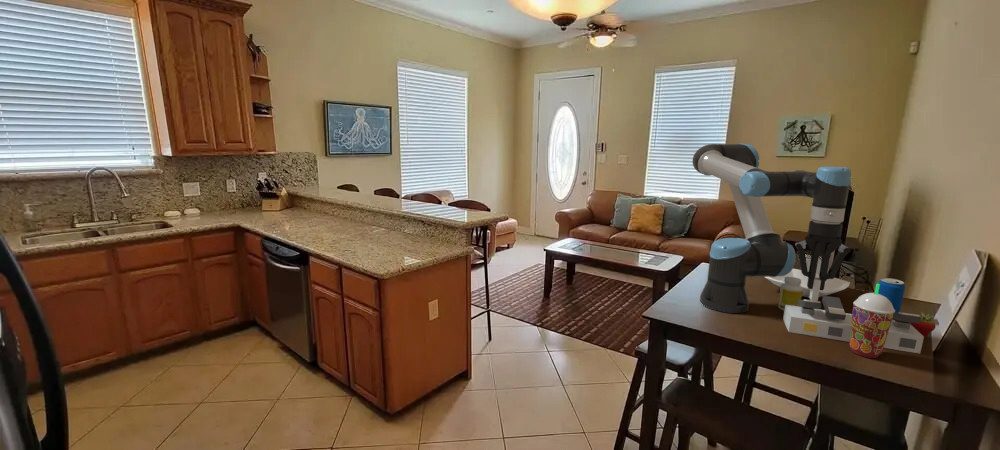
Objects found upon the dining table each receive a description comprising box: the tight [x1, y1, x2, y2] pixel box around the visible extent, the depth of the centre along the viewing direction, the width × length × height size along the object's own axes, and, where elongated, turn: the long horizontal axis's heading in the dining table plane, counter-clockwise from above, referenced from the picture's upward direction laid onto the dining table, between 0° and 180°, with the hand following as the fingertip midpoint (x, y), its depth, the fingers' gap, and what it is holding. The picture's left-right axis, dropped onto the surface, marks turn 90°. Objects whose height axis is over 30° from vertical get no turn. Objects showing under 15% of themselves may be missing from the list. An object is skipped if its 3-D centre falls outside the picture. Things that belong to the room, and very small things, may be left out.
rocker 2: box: [821, 295, 846, 320], centre depth 124 cm, size 4×8×2 cm, turn 154°
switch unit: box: [782, 305, 925, 354], centre depth 123 cm, size 30×10×7 cm, turn 64°
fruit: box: [909, 310, 937, 339], centre depth 121 cm, size 5×5×8 cm
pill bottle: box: [777, 277, 803, 312], centre depth 141 cm, size 6×6×11 cm
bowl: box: [764, 268, 851, 299], centre depth 156 cm, size 22×23×6 cm
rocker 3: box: [892, 311, 921, 323], centre depth 117 cm, size 4×8×2 cm, turn 154°
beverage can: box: [877, 277, 906, 313], centre depth 136 cm, size 6×6×12 cm
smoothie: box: [848, 283, 895, 359], centre depth 111 cm, size 8×8×20 cm
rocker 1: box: [798, 299, 822, 310], centre depth 126 cm, size 4×8×2 cm, turn 154°
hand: (813, 299), depth 123 cm, fingers closed
